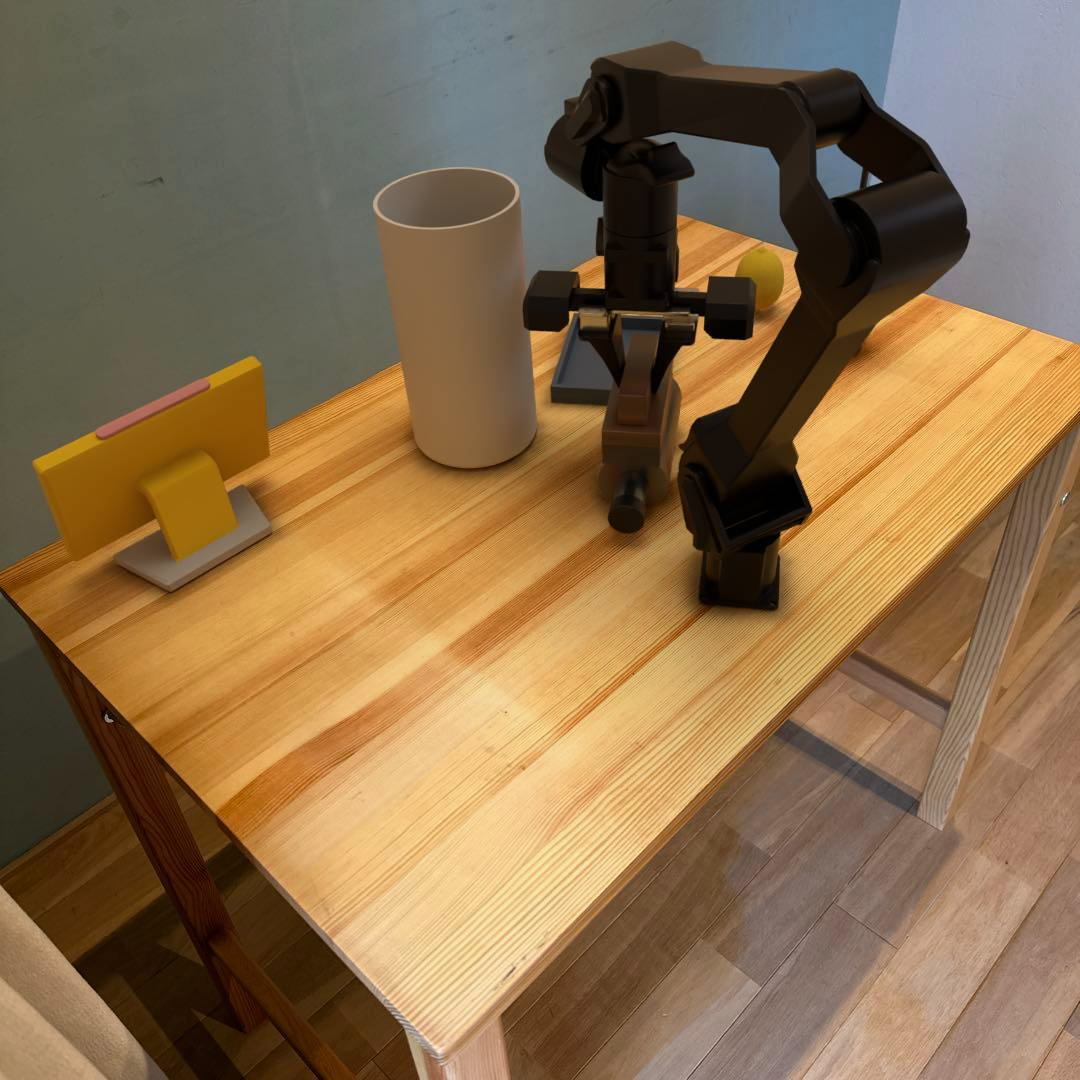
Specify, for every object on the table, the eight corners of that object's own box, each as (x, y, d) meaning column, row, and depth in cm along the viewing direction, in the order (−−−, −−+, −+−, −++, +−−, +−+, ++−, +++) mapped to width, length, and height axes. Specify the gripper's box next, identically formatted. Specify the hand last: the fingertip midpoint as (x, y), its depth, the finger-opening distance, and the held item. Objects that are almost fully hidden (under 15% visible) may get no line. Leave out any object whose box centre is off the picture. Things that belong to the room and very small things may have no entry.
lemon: (728, 321, 116) (733, 257, 110) (736, 298, 119) (741, 234, 114) (777, 326, 114) (784, 261, 109) (783, 302, 118) (790, 238, 113)
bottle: (680, 423, 101) (682, 369, 97) (661, 550, 88) (663, 494, 84) (617, 419, 103) (617, 366, 98) (589, 544, 89) (587, 488, 85)
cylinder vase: (411, 476, 98) (366, 234, 81) (418, 403, 107) (379, 172, 90) (539, 467, 98) (520, 223, 81) (535, 395, 107) (518, 162, 90)
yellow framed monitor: (269, 474, 99) (226, 335, 89) (315, 508, 95) (275, 366, 84) (80, 579, 90) (7, 436, 79) (121, 622, 85) (49, 478, 75)
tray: (657, 408, 104) (657, 392, 102) (551, 402, 106) (550, 386, 104) (671, 332, 115) (671, 316, 113) (574, 327, 117) (573, 312, 115)
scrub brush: (659, 467, 86) (661, 404, 82) (602, 463, 87) (600, 401, 83) (672, 388, 95) (674, 328, 90) (619, 386, 96) (619, 325, 91)
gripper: (765, 181, 82) (749, 347, 92) (541, 177, 85) (551, 337, 96) (761, 243, 74) (745, 417, 84) (514, 236, 77) (528, 404, 88)
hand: (638, 390), depth 88 cm, fingers closed on scrub brush, 2 cm apart
